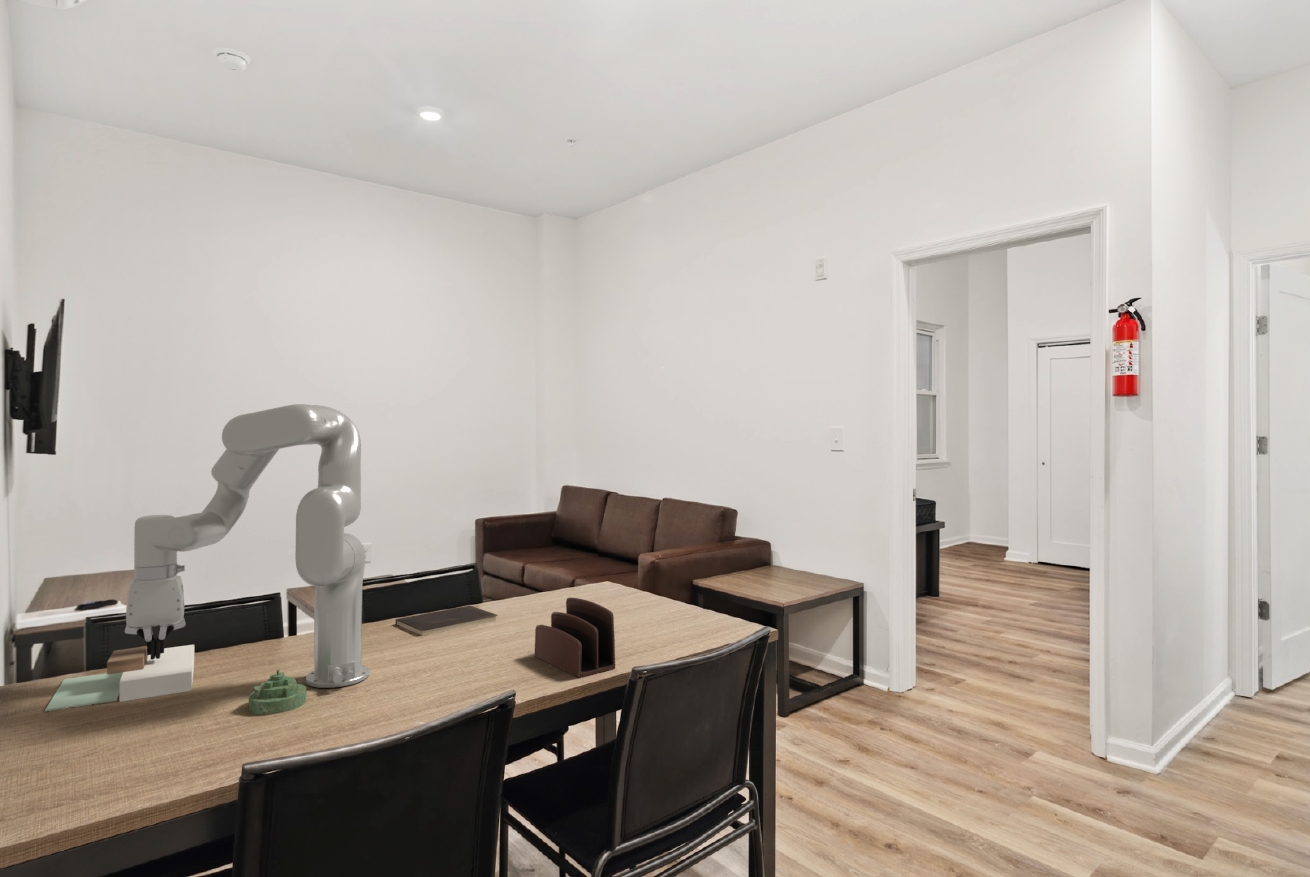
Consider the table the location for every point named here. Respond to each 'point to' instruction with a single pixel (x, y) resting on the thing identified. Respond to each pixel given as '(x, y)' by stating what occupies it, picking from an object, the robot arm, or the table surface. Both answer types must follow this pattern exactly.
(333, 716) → the table surface
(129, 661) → the walnut tile
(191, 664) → the block
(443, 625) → the hardcover book
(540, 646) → the letter holder
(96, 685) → the mat
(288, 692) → the decorative artifact
